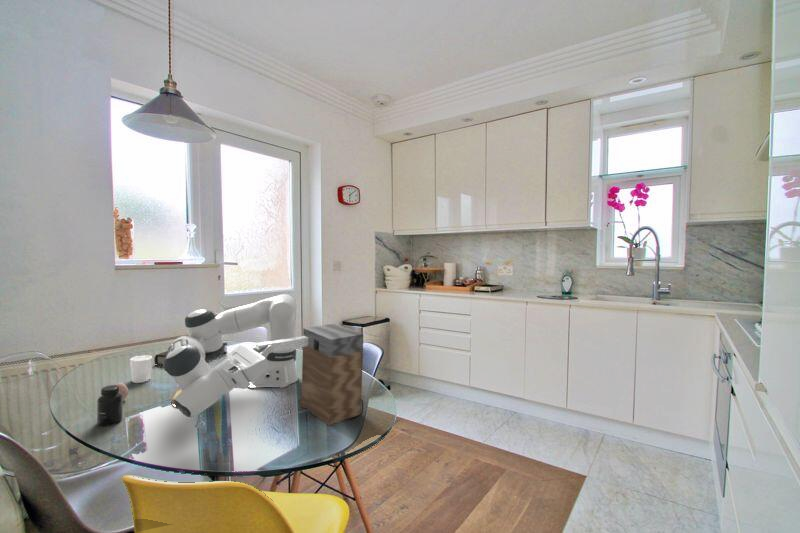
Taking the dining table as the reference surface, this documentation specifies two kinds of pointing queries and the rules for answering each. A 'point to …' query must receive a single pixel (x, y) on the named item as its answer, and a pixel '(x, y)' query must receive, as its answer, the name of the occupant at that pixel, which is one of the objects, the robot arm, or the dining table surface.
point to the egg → (123, 389)
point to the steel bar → (283, 344)
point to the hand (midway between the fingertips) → (269, 344)
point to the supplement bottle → (109, 406)
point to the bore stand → (332, 372)
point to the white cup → (141, 368)
